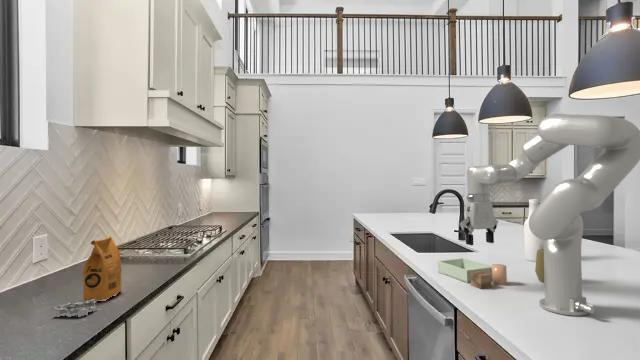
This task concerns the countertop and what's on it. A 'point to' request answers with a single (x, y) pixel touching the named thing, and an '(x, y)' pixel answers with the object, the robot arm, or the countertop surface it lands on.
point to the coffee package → (102, 271)
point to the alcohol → (531, 235)
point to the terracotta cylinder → (499, 275)
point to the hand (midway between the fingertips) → (479, 243)
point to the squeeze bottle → (540, 263)
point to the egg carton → (72, 309)
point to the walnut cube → (481, 280)
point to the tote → (462, 268)
